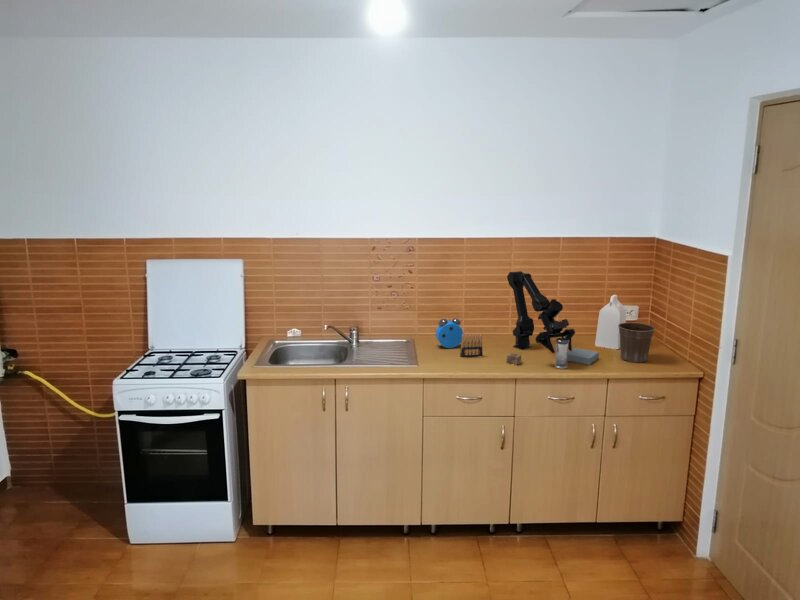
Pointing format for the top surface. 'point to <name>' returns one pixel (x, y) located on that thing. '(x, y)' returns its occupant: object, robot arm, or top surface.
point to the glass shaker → (561, 353)
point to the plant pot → (635, 341)
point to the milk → (610, 324)
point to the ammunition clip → (471, 346)
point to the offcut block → (513, 358)
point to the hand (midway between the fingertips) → (562, 351)
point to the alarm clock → (449, 333)
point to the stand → (582, 356)
